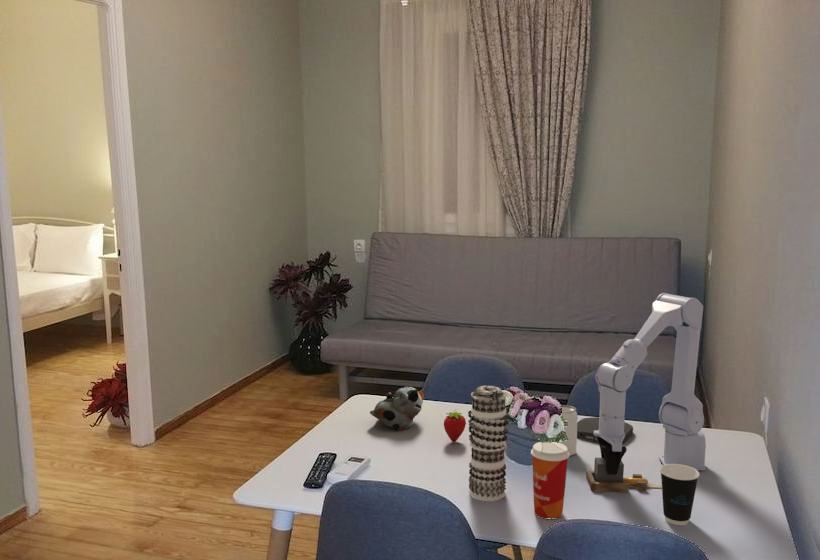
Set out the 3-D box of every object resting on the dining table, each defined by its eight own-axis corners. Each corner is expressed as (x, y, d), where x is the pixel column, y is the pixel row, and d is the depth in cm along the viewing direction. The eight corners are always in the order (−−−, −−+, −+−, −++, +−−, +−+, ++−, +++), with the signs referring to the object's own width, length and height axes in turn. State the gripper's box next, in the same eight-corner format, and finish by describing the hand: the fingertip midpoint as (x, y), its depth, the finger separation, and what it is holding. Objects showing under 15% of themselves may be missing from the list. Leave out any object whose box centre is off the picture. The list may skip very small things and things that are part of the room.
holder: (656, 480, 177) (656, 472, 177) (664, 493, 170) (665, 485, 169) (586, 477, 178) (586, 470, 178) (591, 490, 171) (591, 483, 171)
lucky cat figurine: (384, 413, 225) (406, 374, 224) (415, 435, 220) (437, 395, 219) (362, 414, 212) (385, 372, 211) (393, 437, 206) (417, 394, 205)
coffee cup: (525, 505, 163) (526, 440, 161) (561, 503, 164) (563, 439, 162) (534, 523, 155) (536, 455, 153) (572, 521, 156) (575, 454, 154)
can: (576, 457, 191) (578, 413, 189) (551, 455, 192) (552, 411, 190) (576, 448, 197) (577, 405, 195) (551, 446, 198) (552, 404, 197)
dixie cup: (676, 531, 151) (679, 481, 150) (649, 515, 159) (651, 467, 157) (704, 524, 155) (708, 474, 153) (677, 508, 162) (679, 461, 160)
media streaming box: (636, 432, 211) (636, 422, 210) (621, 448, 198) (621, 437, 198) (586, 423, 218) (587, 413, 218) (569, 437, 206) (569, 427, 206)
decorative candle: (496, 505, 163) (499, 397, 160) (460, 496, 168) (461, 390, 164) (513, 490, 171) (516, 386, 167) (478, 481, 176) (479, 380, 172)
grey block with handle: (645, 483, 176) (647, 459, 175) (650, 490, 172) (651, 466, 171) (593, 481, 176) (594, 457, 176) (596, 488, 172) (597, 463, 172)
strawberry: (469, 439, 204) (469, 404, 202) (460, 448, 197) (460, 412, 196) (449, 436, 206) (449, 401, 205) (439, 445, 199) (439, 409, 198)
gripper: (589, 404, 179) (587, 457, 181) (600, 424, 165) (597, 481, 167) (618, 404, 179) (616, 458, 181) (632, 425, 164) (629, 482, 166)
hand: (609, 469), depth 174 cm, fingers open, 5 cm apart
